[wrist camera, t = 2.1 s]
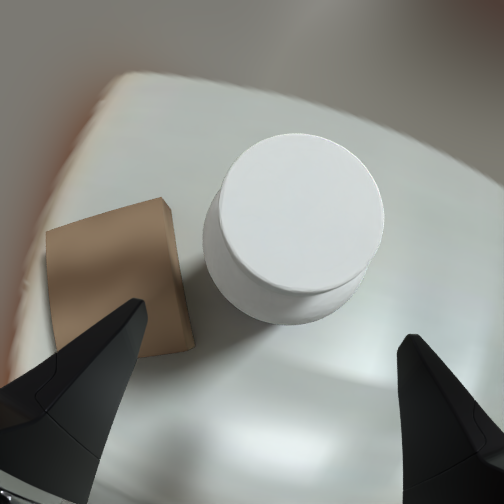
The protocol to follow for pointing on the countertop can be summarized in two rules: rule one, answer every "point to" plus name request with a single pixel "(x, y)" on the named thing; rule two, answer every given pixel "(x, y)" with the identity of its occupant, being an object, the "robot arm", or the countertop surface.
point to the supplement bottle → (293, 229)
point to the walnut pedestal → (119, 275)
